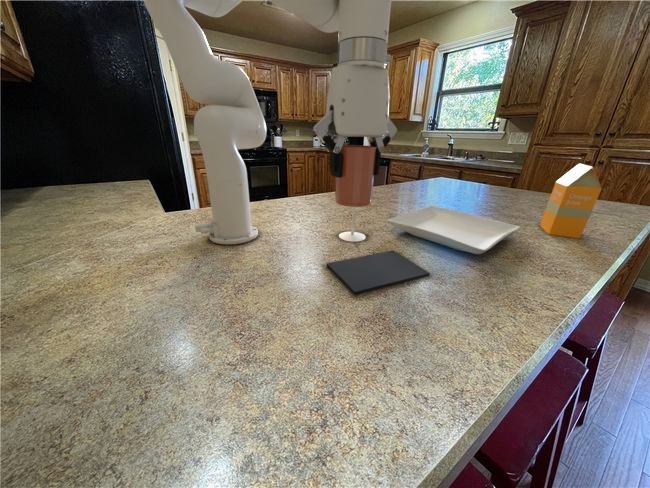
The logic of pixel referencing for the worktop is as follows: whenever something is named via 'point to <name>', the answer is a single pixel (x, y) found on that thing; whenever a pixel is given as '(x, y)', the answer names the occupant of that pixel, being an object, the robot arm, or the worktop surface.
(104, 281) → the worktop surface
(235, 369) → the worktop surface
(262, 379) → the worktop surface
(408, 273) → the mat
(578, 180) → the orange juice
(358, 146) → the cup
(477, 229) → the square plate
